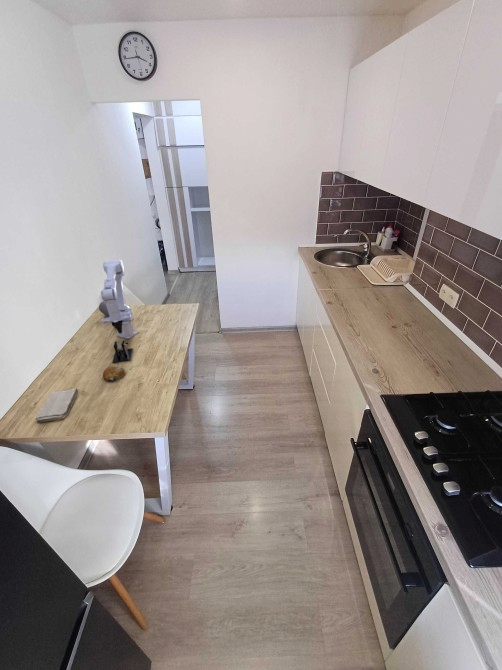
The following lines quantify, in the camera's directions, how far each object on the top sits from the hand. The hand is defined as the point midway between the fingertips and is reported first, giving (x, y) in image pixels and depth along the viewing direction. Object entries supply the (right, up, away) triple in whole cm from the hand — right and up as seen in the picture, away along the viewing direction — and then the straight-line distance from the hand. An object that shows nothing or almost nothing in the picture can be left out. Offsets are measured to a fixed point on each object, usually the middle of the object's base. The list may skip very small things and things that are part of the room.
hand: (120, 332), depth 173 cm
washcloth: (-14, -33, -33) cm, 49 cm away
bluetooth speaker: (-18, +9, +35) cm, 40 cm away
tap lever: (+2, -8, -3) cm, 9 cm away
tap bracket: (+2, -13, -2) cm, 14 cm away
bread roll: (+4, -22, -16) cm, 28 cm away
